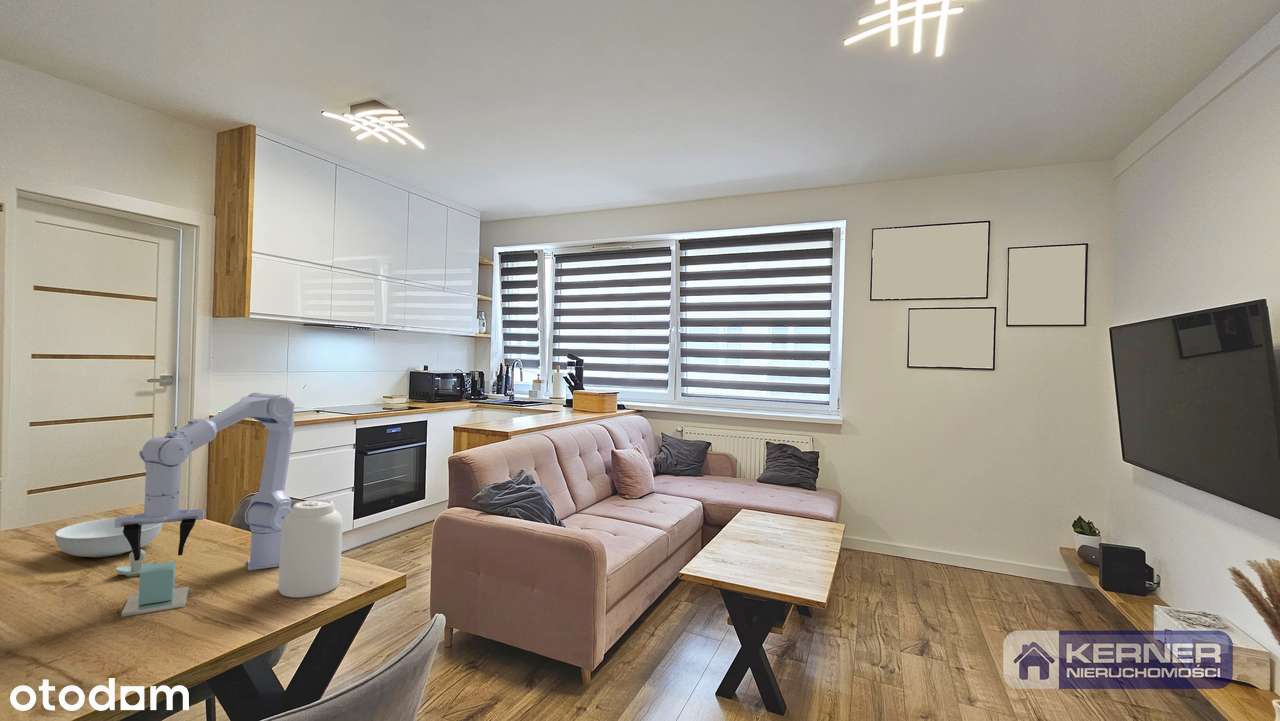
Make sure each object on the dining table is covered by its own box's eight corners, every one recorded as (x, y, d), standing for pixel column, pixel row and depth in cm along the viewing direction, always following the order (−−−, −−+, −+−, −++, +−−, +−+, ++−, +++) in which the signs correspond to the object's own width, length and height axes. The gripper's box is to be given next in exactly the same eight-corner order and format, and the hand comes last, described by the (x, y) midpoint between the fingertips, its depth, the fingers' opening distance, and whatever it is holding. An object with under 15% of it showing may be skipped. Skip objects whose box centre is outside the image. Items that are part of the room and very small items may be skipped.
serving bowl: (174, 550, 153) (175, 524, 153) (67, 572, 135) (68, 543, 135) (145, 534, 164) (147, 511, 164) (43, 553, 146) (44, 527, 146)
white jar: (264, 592, 129) (269, 505, 129) (313, 574, 140) (317, 494, 140) (305, 603, 124) (309, 512, 124) (352, 583, 136) (355, 500, 136)
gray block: (188, 590, 128) (190, 559, 128) (184, 606, 120) (186, 573, 120) (130, 598, 123) (131, 566, 123) (121, 616, 114) (123, 582, 114)
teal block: (174, 591, 125) (175, 561, 125) (171, 600, 121) (173, 569, 121) (142, 595, 122) (143, 565, 122) (138, 605, 118) (140, 573, 118)
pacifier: (116, 573, 136) (115, 580, 132) (117, 547, 136) (116, 553, 132) (156, 567, 141) (156, 574, 137) (157, 542, 141) (157, 548, 137)
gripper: (113, 500, 114) (109, 568, 114) (203, 494, 122) (200, 556, 122) (119, 493, 120) (116, 557, 120) (205, 487, 128) (202, 547, 128)
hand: (159, 556), depth 121 cm, fingers open, 6 cm apart
